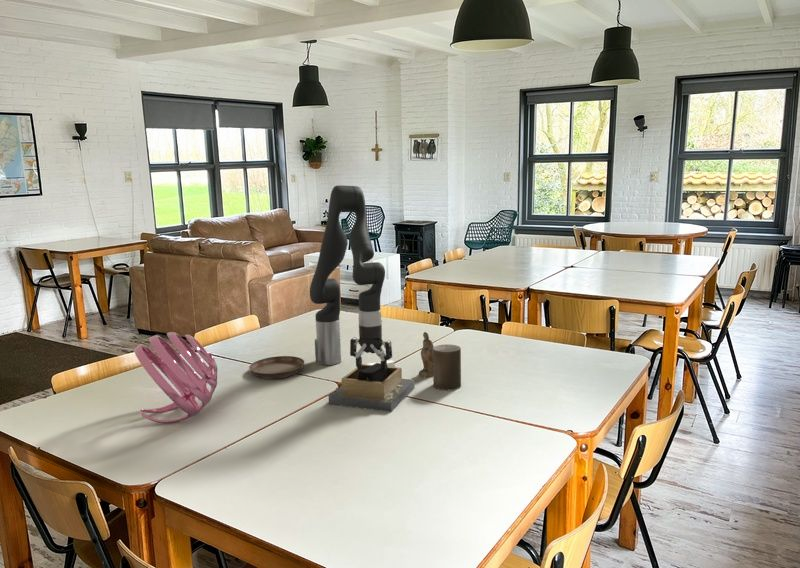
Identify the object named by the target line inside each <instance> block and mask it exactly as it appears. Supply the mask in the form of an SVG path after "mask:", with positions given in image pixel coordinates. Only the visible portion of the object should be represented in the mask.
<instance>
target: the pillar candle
mask: <svg viewBox="0 0 800 568" xmlns="http://www.w3.org/2000/svg"><path fill="white" fill-rule="evenodd" d="M461 350H462V348H461V346H459V345H456V344H448V343H447V344H439V345H436V346H434V347H433V378H432V379H433V381H432V382H433V387H434V388H436V389H438V390H441V391H442V390H443V391H453V390H458V389H460V388H461V387H462V356H461V354H462V352H461Z"/></svg>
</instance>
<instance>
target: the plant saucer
mask: <svg viewBox="0 0 800 568" xmlns="http://www.w3.org/2000/svg"><path fill="white" fill-rule="evenodd" d="M304 364H305V360H304V359H303V358H302V357H298V356H293V355H280V356H279V355H277V356H270V357H266V358H265V357H264V358H262V359H258V360H256V361H254V362H252V363H250V365H249V367H248V369H249V370H250V372H251V373H252V374H253V375H255V376H256V377H259V378H261V379H267V378H269V380H270V379H273V380H275V379H274V378H276V379H282V378H283V377H284V378H288V377H291V376H294V375H296V374H297V373H299V372H300V371H301V369H303V366H304Z"/></svg>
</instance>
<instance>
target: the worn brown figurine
mask: <svg viewBox="0 0 800 568" xmlns="http://www.w3.org/2000/svg"><path fill="white" fill-rule="evenodd" d="M422 336H423V340H422V348H421V350H420V357H421V360H422V363H423V368H422V369H421V370H419V372H418V376H420V375H422V377H424V376H425V377H424V378H429V377H432V376H433V347H435V346H434V344H433V343H434V342H433V341H432V340H431V339H430V337H429V334H428V333H427V332H426V331H424V332H423V335H422Z"/></svg>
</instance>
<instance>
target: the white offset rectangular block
mask: <svg viewBox="0 0 800 568" xmlns="http://www.w3.org/2000/svg"><path fill="white" fill-rule="evenodd" d="M375 363H381V361H380V362H379V361H378V362H377V361H376V362H369V363H366V364H367V365H374V364H375ZM387 367H395V361H394V360H392V359H389V360H387Z"/></svg>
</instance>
